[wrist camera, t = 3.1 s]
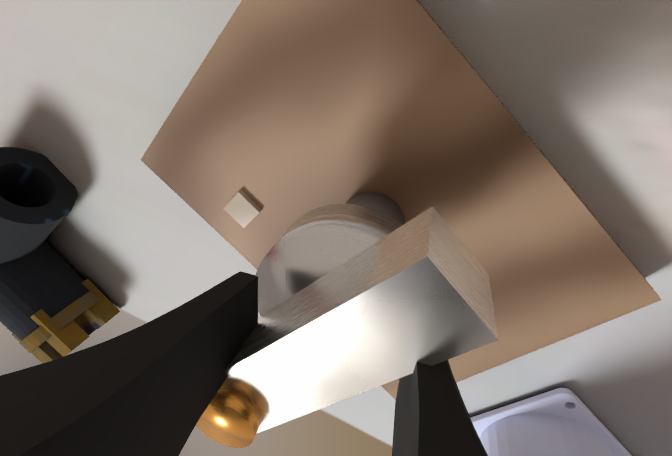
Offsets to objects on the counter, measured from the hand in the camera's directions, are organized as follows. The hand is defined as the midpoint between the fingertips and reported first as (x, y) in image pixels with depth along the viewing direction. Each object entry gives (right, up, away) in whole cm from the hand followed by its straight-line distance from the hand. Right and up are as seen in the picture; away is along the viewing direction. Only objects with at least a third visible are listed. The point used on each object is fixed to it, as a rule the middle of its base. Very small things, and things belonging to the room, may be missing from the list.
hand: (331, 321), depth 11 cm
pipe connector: (-21, +1, +16) cm, 26 cm away
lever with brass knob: (+1, +1, +2) cm, 2 cm away
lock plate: (+2, +4, +7) cm, 8 cm away
